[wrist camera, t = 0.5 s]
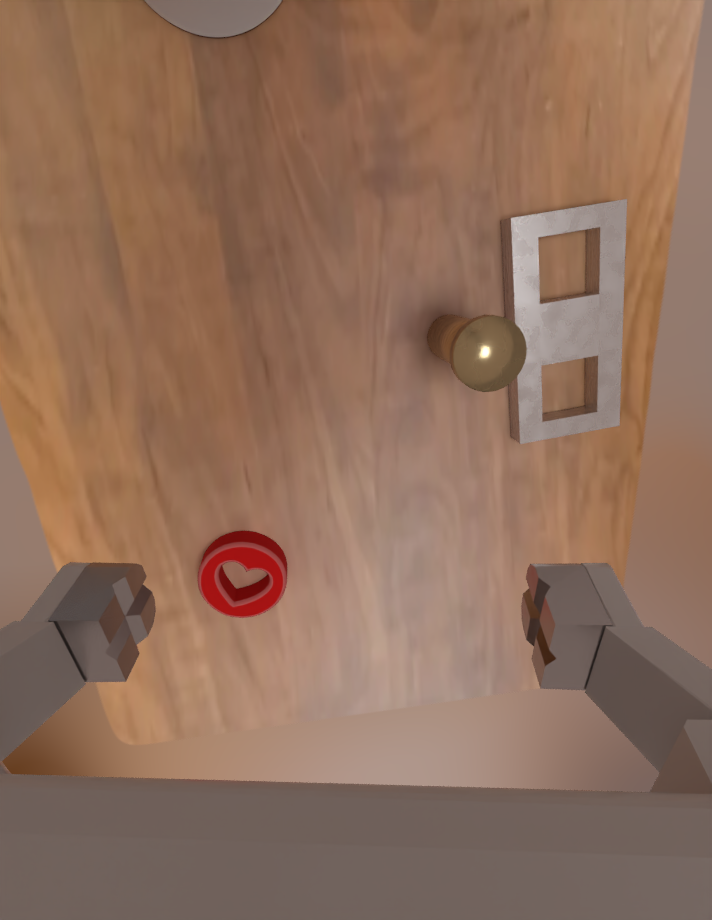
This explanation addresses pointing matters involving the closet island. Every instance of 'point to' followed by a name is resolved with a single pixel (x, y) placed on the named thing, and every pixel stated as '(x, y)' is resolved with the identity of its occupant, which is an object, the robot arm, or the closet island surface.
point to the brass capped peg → (479, 349)
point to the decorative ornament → (251, 555)
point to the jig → (567, 319)
